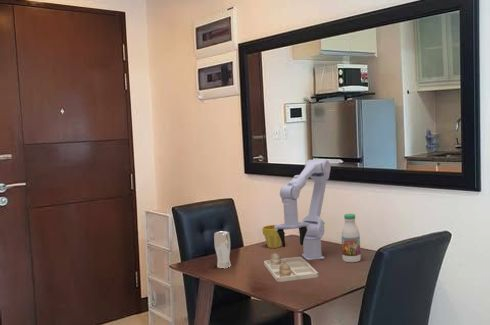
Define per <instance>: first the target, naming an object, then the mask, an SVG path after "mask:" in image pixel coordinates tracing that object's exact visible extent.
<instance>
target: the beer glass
mask: <svg viewBox="0 0 490 325" xmlns="http://www.w3.org/2000/svg"><path fill="white" fill-rule="evenodd" d="M213 234H214V235H213V239H214V242H213V243H214V250H215V254H216V258H217V263H216V268H217V269H221V268H224V269H228V267H229V268H231V267H232V265H231V260H230V254H231V236H230V231H225V230H220V231H216V232H214V233H213ZM230 266H231V267H230Z"/></svg>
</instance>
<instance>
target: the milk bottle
mask: <svg viewBox="0 0 490 325" xmlns="http://www.w3.org/2000/svg"><path fill="white" fill-rule="evenodd" d="M343 218H344V225H343V227H342V230H341V251H342V252H341V253H342V261H343V262H345V263H357V262H358V263H359V262H360V261H361V258H362V255H361V254H362V252H361V237H360V231H359V228H358V227H357V224H356V215H355V214H354V213H346V214H344V215H343Z"/></svg>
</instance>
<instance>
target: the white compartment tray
mask: <svg viewBox="0 0 490 325" xmlns="http://www.w3.org/2000/svg"><path fill="white" fill-rule="evenodd" d="M284 263H286V264H288V265H289V266H290V269H291V276H286V277H280V272H279V268H280V266H281V265H282V264H284ZM263 265H264V266H265V269H266V270H268V272H269V273H270V275H271V276H272V277H273V279H274V280H275V281H276V283H282V282H291V281H299V280H307V279H316V278H319V277H320V276H319V275H320V274H319V272H318V271H317V270H316V269H315V268H314V267H313V266H312V265H311V264H310V263H309V262H308V261H307V260H306V259H305V258H304V257H303V256H295V257H285V258H281V265H272V266H271V259H268V260H263Z"/></svg>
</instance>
